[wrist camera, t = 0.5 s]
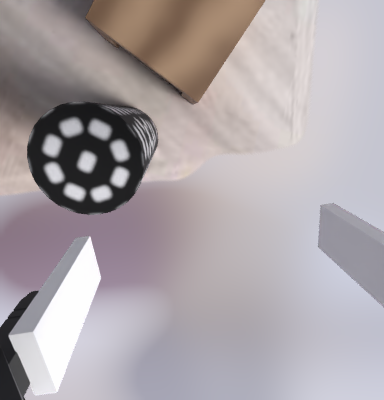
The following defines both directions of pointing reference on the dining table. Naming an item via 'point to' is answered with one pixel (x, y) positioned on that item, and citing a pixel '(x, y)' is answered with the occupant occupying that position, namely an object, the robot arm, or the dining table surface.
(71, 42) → the dining table surface
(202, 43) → the wooden bridge block
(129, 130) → the spotted tube
